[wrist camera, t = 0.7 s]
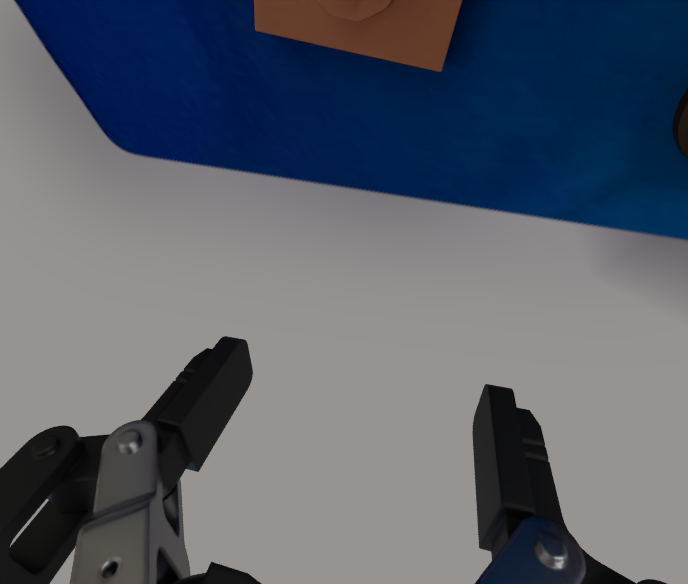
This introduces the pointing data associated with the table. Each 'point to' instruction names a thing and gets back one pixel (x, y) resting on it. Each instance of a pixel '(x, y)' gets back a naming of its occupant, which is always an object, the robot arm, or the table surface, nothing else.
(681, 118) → the candlestick
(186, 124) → the table surface
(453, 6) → the button base
